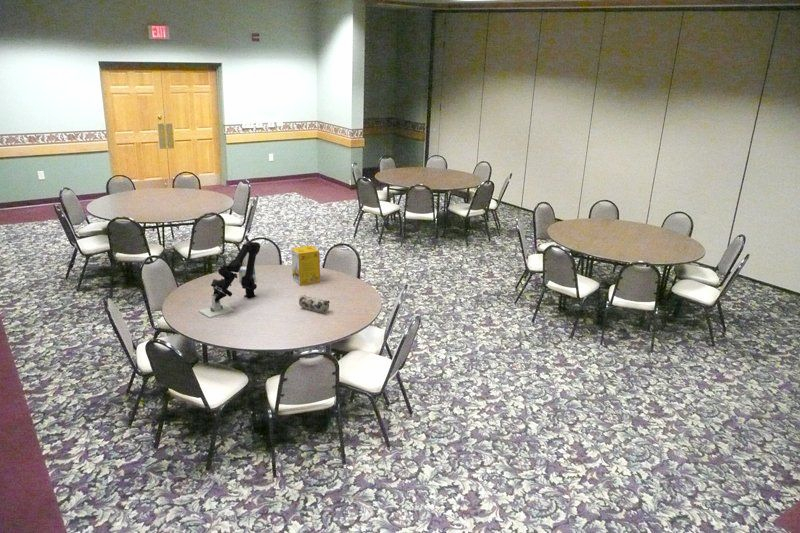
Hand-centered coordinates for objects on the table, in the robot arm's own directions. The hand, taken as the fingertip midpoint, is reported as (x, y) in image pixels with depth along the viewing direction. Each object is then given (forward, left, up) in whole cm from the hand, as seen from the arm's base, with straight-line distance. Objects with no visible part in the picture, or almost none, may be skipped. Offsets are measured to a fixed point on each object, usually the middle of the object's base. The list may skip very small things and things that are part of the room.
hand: (213, 300), depth 382 cm
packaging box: (+7, -79, -9) cm, 80 cm away
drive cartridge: (0, -1, -7) cm, 7 cm away
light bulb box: (+36, -46, -9) cm, 59 cm away
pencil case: (-41, -50, -9) cm, 65 cm away
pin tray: (0, -1, -8) cm, 8 cm away
